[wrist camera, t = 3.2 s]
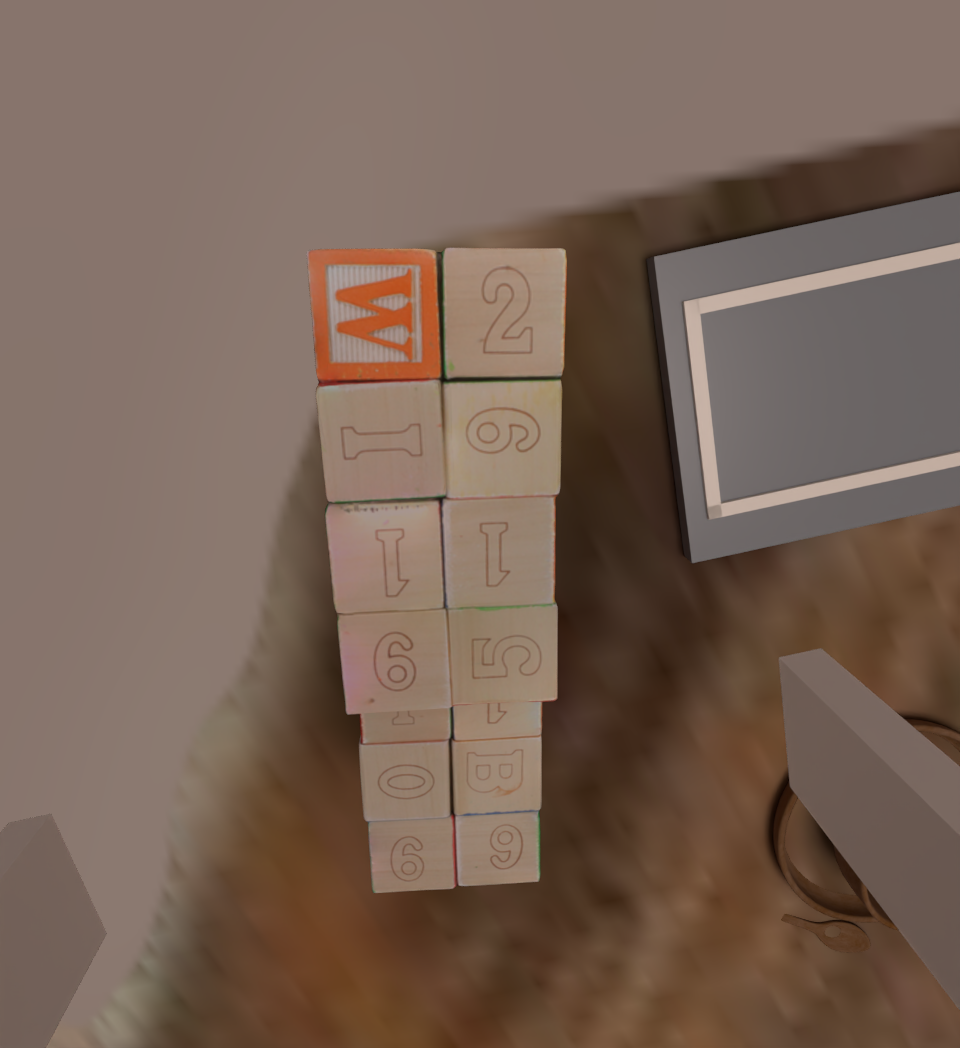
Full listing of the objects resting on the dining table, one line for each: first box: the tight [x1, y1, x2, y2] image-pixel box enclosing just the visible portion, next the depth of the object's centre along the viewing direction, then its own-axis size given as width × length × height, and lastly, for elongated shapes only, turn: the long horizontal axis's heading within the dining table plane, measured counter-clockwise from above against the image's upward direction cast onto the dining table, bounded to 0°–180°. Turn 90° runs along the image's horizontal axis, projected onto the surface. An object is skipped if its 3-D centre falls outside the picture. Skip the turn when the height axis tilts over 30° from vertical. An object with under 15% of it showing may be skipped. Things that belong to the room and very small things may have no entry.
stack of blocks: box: [307, 248, 567, 893], centre depth 25 cm, size 21×6×12 cm, turn 1°
